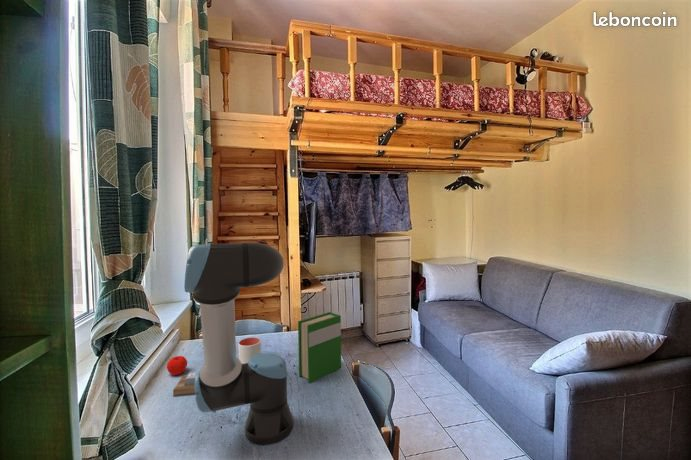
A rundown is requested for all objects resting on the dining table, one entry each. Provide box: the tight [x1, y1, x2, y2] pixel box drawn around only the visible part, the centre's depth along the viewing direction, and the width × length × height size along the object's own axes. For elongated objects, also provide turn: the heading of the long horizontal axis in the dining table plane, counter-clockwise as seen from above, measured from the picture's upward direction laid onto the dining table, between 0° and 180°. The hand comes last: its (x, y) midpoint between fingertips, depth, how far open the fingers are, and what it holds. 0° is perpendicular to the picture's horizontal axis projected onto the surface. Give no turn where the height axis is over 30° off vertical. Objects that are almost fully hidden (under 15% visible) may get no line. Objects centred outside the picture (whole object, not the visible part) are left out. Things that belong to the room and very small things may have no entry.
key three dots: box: [185, 371, 198, 386], centre depth 125 cm, size 5×5×4 cm
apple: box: [166, 355, 188, 376], centre depth 137 cm, size 8×8×7 cm
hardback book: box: [297, 311, 342, 384], centre depth 136 cm, size 18×7×24 cm, turn 133°
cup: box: [237, 337, 262, 364], centre depth 146 cm, size 10×10×10 cm
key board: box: [172, 374, 195, 397], centre depth 127 cm, size 11×28×2 cm, turn 99°
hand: (225, 347), depth 126 cm, fingers closed
